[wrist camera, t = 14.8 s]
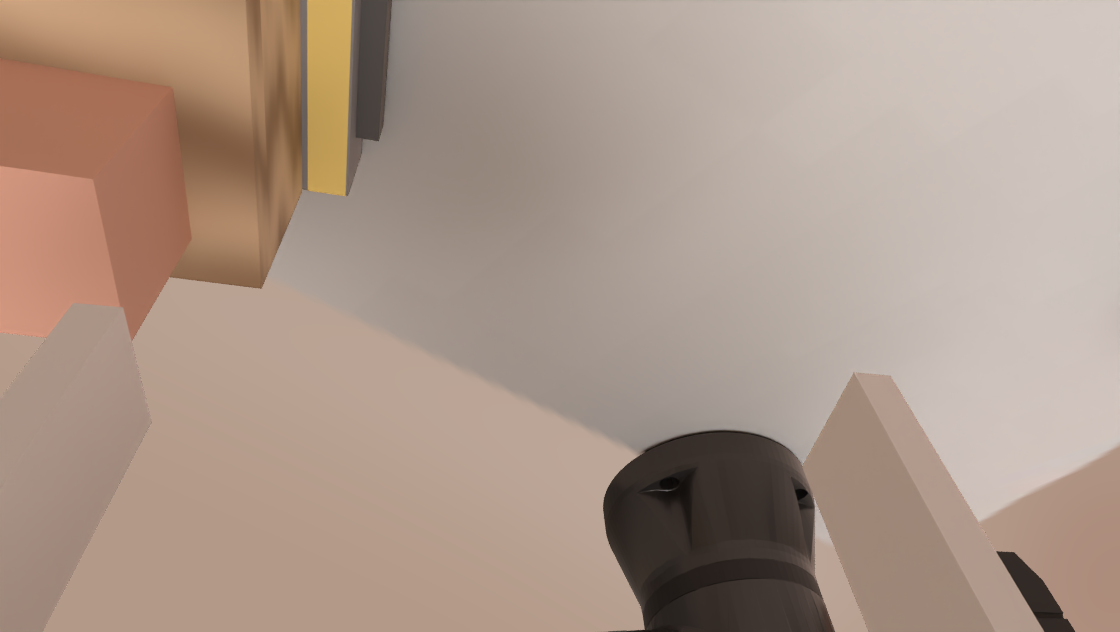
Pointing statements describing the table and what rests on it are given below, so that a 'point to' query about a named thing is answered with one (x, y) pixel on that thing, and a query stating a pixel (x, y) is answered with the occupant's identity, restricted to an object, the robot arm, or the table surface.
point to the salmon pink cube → (86, 195)
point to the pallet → (197, 106)
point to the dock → (341, 87)
